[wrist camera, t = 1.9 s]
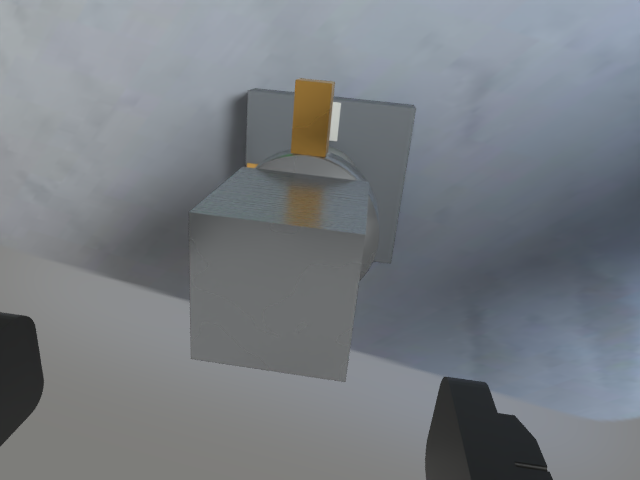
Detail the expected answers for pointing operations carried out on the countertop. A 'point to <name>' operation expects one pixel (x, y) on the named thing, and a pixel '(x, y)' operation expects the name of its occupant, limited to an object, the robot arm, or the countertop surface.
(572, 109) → the countertop surface
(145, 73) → the countertop surface
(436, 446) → the robot arm
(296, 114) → the collar
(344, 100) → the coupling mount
